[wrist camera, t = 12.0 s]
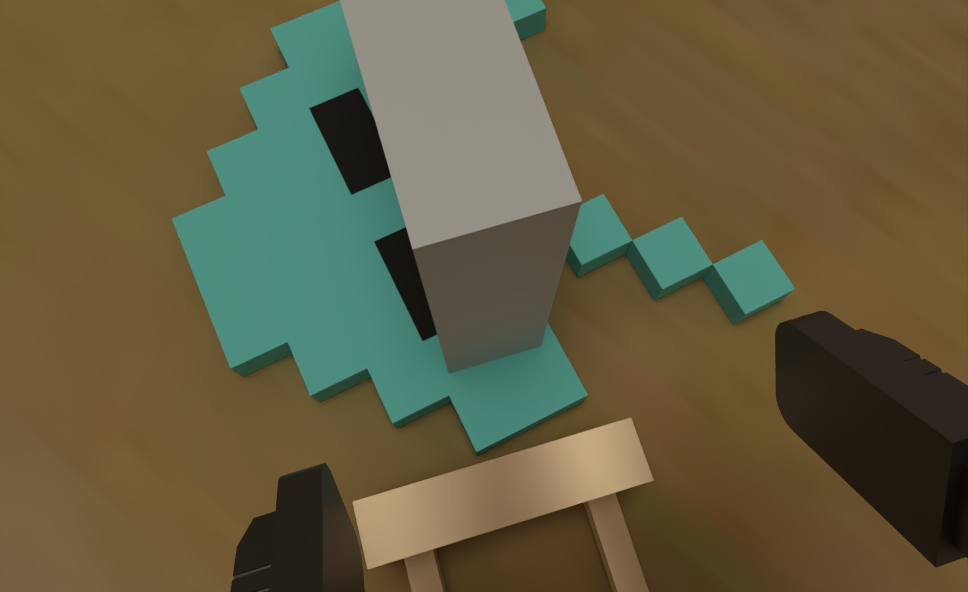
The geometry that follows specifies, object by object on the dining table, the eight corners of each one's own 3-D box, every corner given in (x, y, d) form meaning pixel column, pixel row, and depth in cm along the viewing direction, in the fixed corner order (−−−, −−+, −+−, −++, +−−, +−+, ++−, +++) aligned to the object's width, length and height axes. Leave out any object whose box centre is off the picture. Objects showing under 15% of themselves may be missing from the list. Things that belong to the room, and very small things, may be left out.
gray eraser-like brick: (448, 373, 25) (412, 249, 13) (357, 61, 29) (271, -236, 18) (541, 346, 25) (581, 201, 14) (437, 40, 29) (403, -265, 18)
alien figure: (539, -43, 33) (146, 118, 31) (543, -81, 31) (120, 88, 29) (772, 306, 28) (314, 541, 25) (795, 289, 26) (298, 543, 23)
